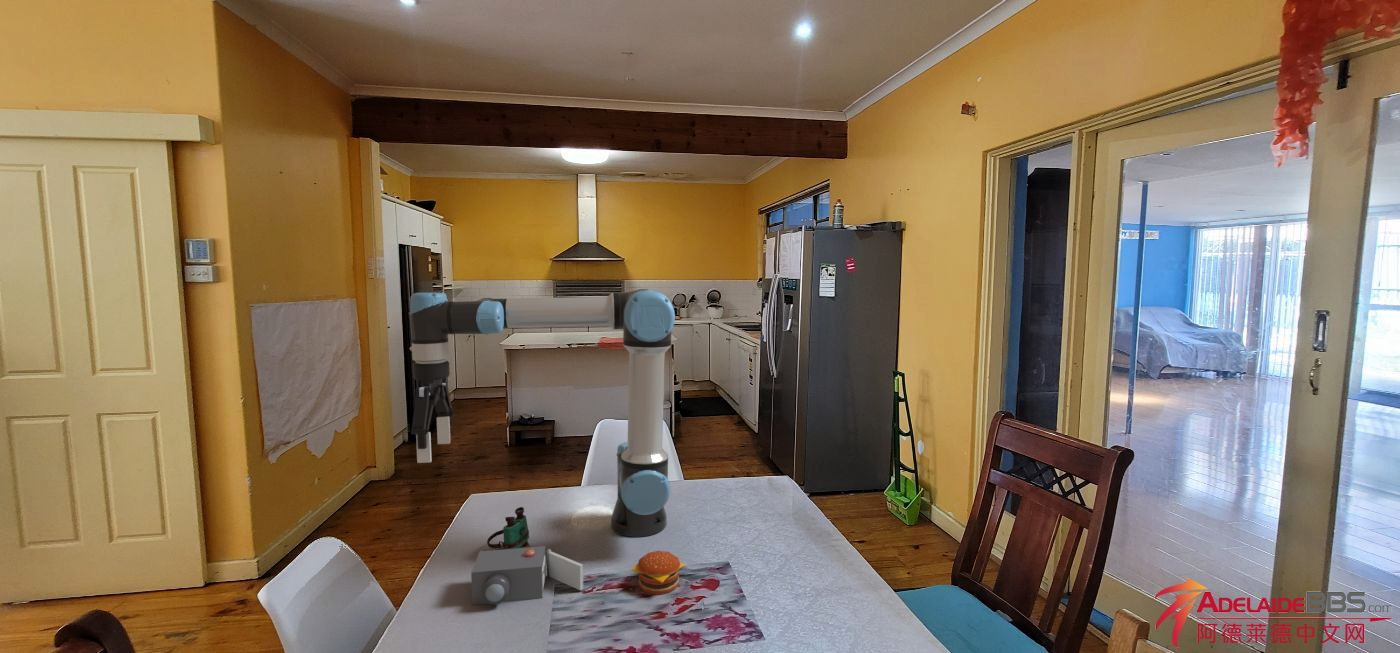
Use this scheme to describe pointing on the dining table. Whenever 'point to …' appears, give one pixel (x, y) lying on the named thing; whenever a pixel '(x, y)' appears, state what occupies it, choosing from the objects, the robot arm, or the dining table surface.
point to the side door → (564, 570)
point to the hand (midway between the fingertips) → (434, 452)
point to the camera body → (508, 575)
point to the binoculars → (513, 532)
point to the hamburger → (658, 572)
